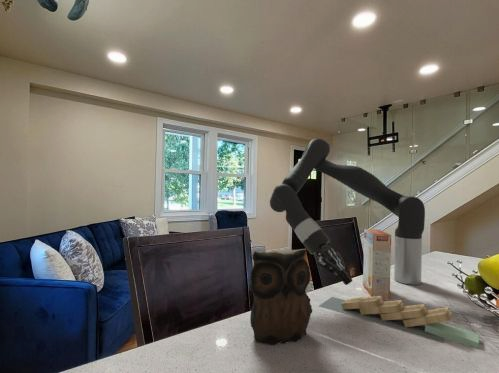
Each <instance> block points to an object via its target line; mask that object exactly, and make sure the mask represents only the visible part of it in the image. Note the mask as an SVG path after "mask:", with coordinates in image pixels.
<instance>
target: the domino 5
mask: <svg viewBox="0 0 499 373" xmlns="http://www.w3.org/2000/svg"><path fill="white" fill-rule="evenodd" d="M425 332H428V333H431V334H433V335H436V336H439V337H442V338H444V340H448V341H452V342H454V343H459V344H463V345H465V346H470V347H473V348H477V349H479V348H480V334H478V333H477V332H476V333H475V332H472V331H470V330H467V329H464V328H463V329H462V328H461V327H457V326H453V325H451V324H447V323H445V322H438V323H431V324H425Z"/></svg>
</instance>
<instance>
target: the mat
mask: <svg viewBox="0 0 499 373" xmlns="http://www.w3.org/2000/svg"><path fill="white" fill-rule="evenodd" d="M345 300H346V299H343V298H339V297H338V298H337V297H335V296H331V297H329V298H328V299H327V300H325V301H323V302H322V303H320V305H319V304H318V307H321V308H324V309H327V310H331V311H334V312H338V313H341V314H344V315H348V316H350V317H354V318H358V319H360V320H364V321H368V322H370V323H375V324H378V325H381V326H385V327H388V328H392V329H395V330H399V331H401V332H406V333H408V334H412V335H415V336H418V337H422V338H425V339H429V340H432V341H436V342H439V343H444V342H445V338H442V337H439V336H436V335H433V334H431V333H428V332H425V325H418V326H411V327H405V325H404V323H403V319H396V320H385V321H382V318H381V315H380V314H381V313H380V314H363V315H361V312H360V309H359V308H357V309H343V308H342V305H341V303H342V302H344V301H345Z"/></svg>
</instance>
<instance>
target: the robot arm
mask: <svg viewBox="0 0 499 373" xmlns="http://www.w3.org/2000/svg"><path fill="white" fill-rule="evenodd" d="M330 150H331V146H330V145H329V143H328V142H327V141H326V140H324V139H323V138H313V139H311V140H310V141H309V143H308V144H307V146H306V148H305V149H304V151H303V152H302V155H301V158H300V159H299V161H297V163H296V164H295V165H294V166H293V167H292V169H291V170H290V171H289V172H288V173H287V175H286V176H285V177H284V179H283V180H282V182H281V183H280V184H277V185H276V186H275V188H274V189H273V191H272V194H271V197H270V199H269V207H270V208H271V209H272V210H273V211H274V212H277V213H283V212H285V220H286V222H287V223H288V225H289V226H290V227H291V229H292V230H293V231H294V233H295V235H296V236H297V238H298V239H299V241H300V242H301V243H302V244H303V246H304V247H305V248H306V249H307V250H306V251H308V252H309V254H310V255H316V256H317V258H318V261H317V265H319V266H320V267H321V268H323V269H324V270H326V271H327V272H328V273H330V274H331V275H336V276H338V278H339V279H340V280H341V281H342V282H343V284H344V285H345V286H347V285H349V284H351V283H352V282H353V279H352V277H351V275H349V274H348V272H347V270H345V269H346V268H345V267H346V263H345V262H344V261H345V260H344V259H343V256H342V253H340V251H335V250H334V248H332V247H331V246H330V245H329V244H330V242H331V239H330V237H329V236H328V235H327V234H326V232H324V230H323V229H322V228H321V227H320V225H318V223H317V222H316V221H315V220H314V219H313V218H312V217H311V216H310V214H308V212H307V210H305V209H304V207H303V204H302V202H301V201H300V199H299V196H298V193H299V192H300V190H301V189H302V188H303V186H304V185H305V184H306V182H307V181H308V179H309V178H310V176H311V174H312V172H313V171H314V170H316V171H317V172H320V173H322V174H324V175H327V176H328V177H330V178H332V179H335V180H336V181H337V182H339V183H342V184H343V185H345V186H346V187H347V188H349V189H350V190H351V189H352V190H353V191H355V192H356V193H357V194H360V195H362V196H364V197H366V198H368V199H369V200H372V201H374V202H376V203H378V204H380V205H381V206H382V207H384V208H385V209H387V211H389V212H390V213H392V214H393V215H395V217H398V222H397V223H398V224H397V227H396V228H395V230H394V272H393V273H394V275H393V276H394V281H396V282H399V283H401V284H406V285H412V286H413V285H415V286H416V285H417V286H419V285H421V284H422V268H423V267H422V263H423V262H422V255H423V252H422V250H423V246H422V245H423V244H422V243H423V242H422V240H423V237H422V236H423V233H424V231H425V221H426V220H425V218H426V209H425V208H426V206H425V204H424V203H423V200H422V199H420V198H418V197H416V196H407V195H404V194H401V193H399V192H397V191H395V190H392V189H391V188H390V187H388V186H387V185H386V184H384V183H383V182H382V181H381V179H379V178H378V177H377V176H375V175H374V174H373V173H371V172H369V171H368V170H366V169H364V168H362V167H360V166H356V165H347V164H345V165H342V164H337V163H333V162H331V161H330V160H327V159H326V158H327V157H328V156H329V155H330Z"/></svg>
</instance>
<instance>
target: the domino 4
mask: <svg viewBox="0 0 499 373" xmlns="http://www.w3.org/2000/svg"><path fill="white" fill-rule="evenodd" d="M451 318H452V312H451V309H450V308H449V306H445V307H440V308H435V309H434V308H433V309H428V310H427V312H426V314H425V317H419V318H408V319H403V323H404V325H405V327H411V326H418V325H425V324H431V323H438V322H442V323H445V322H450V321H451V320H452V319H451Z"/></svg>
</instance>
